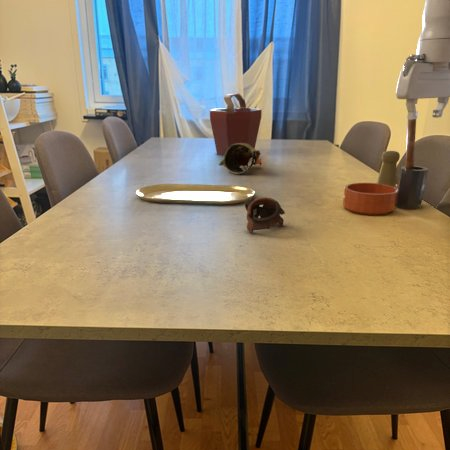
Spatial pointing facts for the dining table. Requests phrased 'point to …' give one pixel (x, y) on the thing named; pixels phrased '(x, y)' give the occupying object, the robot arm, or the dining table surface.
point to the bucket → (234, 124)
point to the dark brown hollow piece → (263, 213)
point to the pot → (240, 158)
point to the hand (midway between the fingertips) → (424, 118)
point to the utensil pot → (411, 187)
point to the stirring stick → (410, 144)
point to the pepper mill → (389, 168)
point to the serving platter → (195, 194)
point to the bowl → (370, 198)
